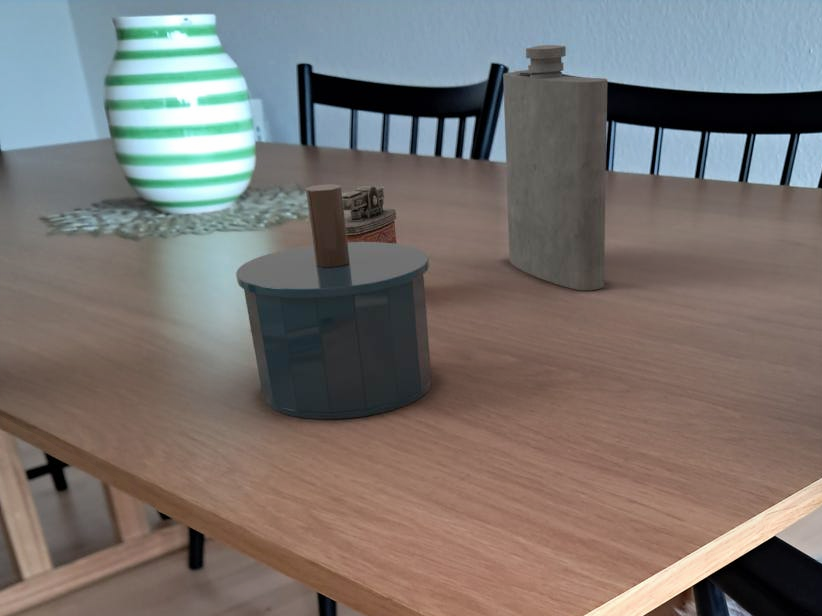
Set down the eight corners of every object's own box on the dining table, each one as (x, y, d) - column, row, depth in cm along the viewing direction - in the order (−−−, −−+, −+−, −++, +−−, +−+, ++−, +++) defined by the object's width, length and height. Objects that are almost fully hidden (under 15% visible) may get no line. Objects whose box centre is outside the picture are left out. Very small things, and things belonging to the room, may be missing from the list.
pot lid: (231, 315, 66) (213, 214, 63) (245, 266, 77) (230, 178, 74) (438, 297, 67) (431, 197, 64) (422, 252, 78) (415, 165, 75)
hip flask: (610, 286, 97) (615, 45, 86) (573, 293, 95) (573, 49, 84) (530, 256, 109) (525, 41, 98) (496, 261, 107) (488, 44, 96)
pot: (259, 426, 71) (237, 303, 66) (268, 369, 81) (250, 259, 76) (438, 410, 72) (428, 287, 67) (424, 355, 82) (415, 246, 77)
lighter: (381, 287, 101) (370, 178, 96) (410, 289, 100) (400, 179, 94) (337, 308, 95) (322, 194, 90) (368, 311, 94) (355, 196, 88)
